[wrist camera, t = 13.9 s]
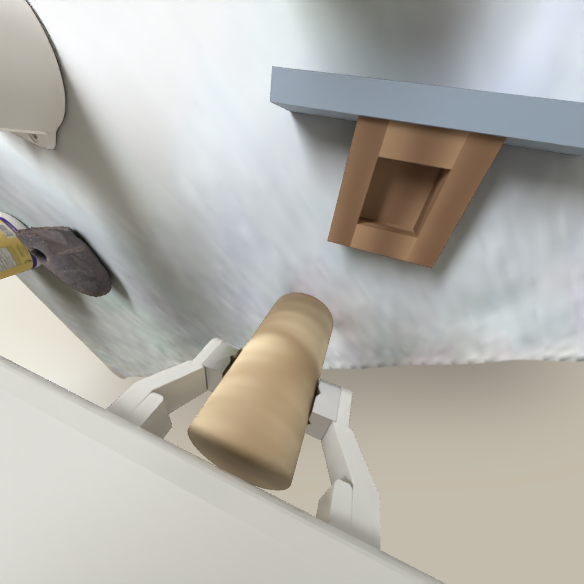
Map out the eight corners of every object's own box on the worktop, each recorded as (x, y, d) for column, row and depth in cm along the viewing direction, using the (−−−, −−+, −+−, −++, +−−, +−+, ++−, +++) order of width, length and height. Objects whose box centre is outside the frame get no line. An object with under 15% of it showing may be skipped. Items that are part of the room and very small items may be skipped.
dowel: (270, 331, 16) (193, 455, 9) (276, 284, 13) (180, 405, 7) (324, 351, 15) (282, 501, 8) (341, 305, 13) (302, 463, 6)
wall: (289, 111, 21) (269, 101, 17) (292, 83, 20) (272, 66, 16) (579, 155, 17) (641, 156, 13) (603, 123, 16) (679, 113, 12)
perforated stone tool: (125, 284, 44) (89, 303, 39) (113, 290, 47) (77, 308, 41) (67, 212, 39) (15, 222, 33) (56, 223, 41) (6, 234, 36)
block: (334, 228, 26) (327, 241, 22) (361, 122, 20) (358, 115, 17) (423, 250, 24) (431, 267, 20) (480, 140, 18) (506, 137, 15)
